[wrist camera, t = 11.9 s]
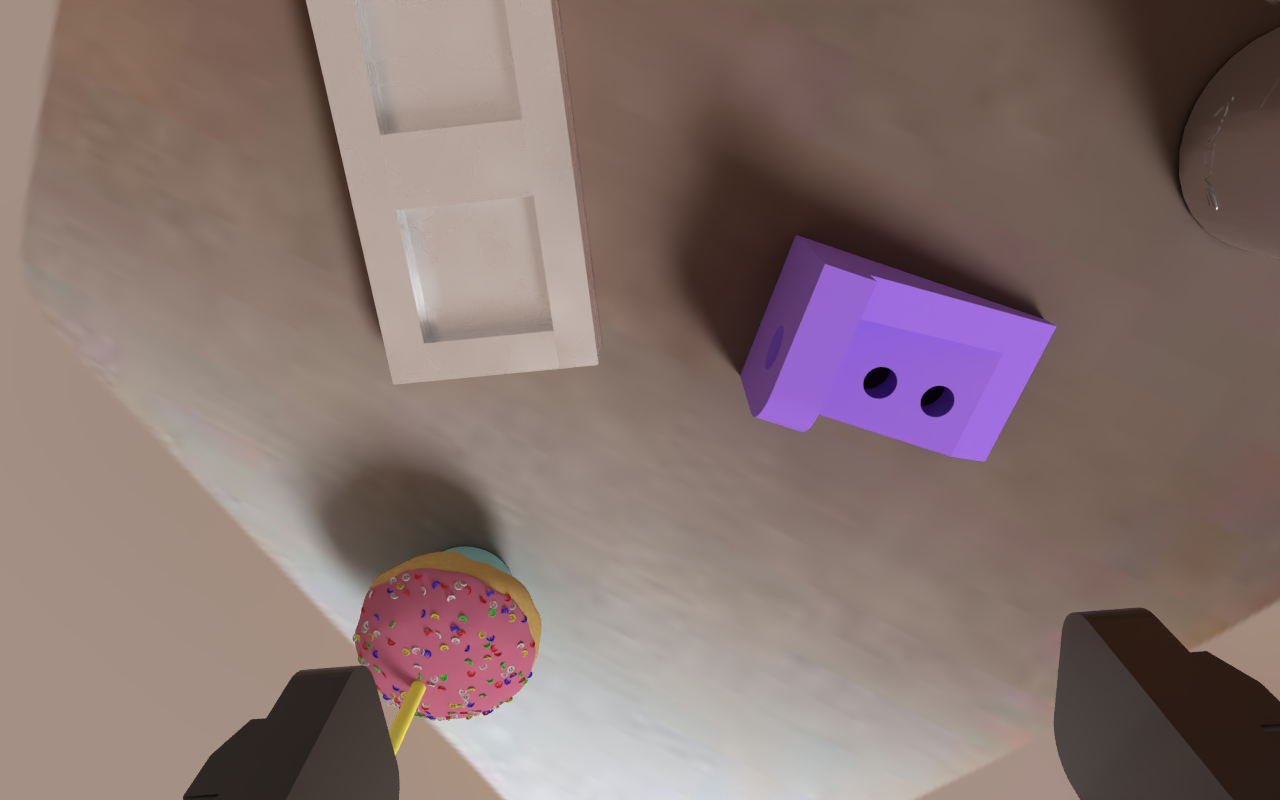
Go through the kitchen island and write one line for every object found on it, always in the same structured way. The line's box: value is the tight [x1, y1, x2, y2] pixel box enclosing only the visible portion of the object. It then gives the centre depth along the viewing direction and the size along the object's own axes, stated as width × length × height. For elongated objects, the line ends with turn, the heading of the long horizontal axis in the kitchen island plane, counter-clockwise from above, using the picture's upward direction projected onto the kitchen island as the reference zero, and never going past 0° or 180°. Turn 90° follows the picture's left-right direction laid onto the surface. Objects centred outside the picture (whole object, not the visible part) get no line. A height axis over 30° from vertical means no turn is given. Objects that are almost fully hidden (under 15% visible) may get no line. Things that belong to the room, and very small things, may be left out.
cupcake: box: [353, 546, 541, 756], centre depth 36 cm, size 9×8×12 cm
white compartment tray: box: [306, 0, 602, 385], centre depth 32 cm, size 9×26×3 cm, turn 6°
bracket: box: [740, 235, 1056, 462], centre depth 34 cm, size 12×7×7 cm, turn 72°
